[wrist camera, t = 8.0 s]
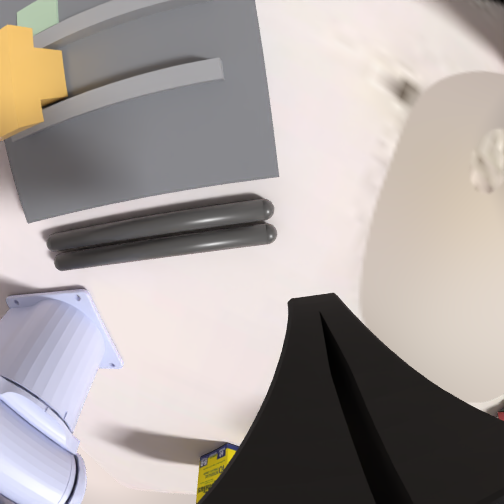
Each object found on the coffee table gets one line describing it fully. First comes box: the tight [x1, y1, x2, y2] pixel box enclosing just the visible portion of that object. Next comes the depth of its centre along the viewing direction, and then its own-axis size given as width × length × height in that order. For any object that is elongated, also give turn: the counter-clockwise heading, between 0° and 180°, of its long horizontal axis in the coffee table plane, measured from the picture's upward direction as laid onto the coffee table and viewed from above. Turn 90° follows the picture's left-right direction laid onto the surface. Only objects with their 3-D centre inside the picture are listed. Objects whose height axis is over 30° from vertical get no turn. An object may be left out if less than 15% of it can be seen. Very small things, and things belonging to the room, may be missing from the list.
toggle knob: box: [0, 24, 68, 141], centre depth 11 cm, size 3×5×5 cm, turn 8°
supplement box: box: [196, 443, 239, 504], centre depth 28 cm, size 6×6×11 cm
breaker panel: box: [0, 0, 279, 271], centre depth 14 cm, size 16×20×3 cm
